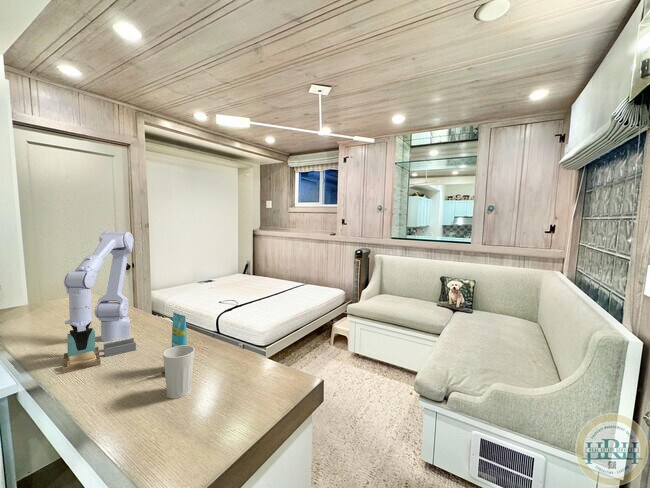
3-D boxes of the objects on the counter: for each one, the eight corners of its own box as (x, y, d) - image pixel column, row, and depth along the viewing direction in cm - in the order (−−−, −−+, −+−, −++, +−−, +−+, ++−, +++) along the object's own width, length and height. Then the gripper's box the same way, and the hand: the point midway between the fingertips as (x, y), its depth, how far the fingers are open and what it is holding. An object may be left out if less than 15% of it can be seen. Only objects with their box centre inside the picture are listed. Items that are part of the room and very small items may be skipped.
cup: (187, 381, 85) (187, 342, 85) (199, 391, 80) (199, 350, 80) (158, 392, 79) (158, 351, 79) (170, 404, 74) (170, 360, 74)
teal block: (95, 354, 98) (94, 329, 98) (95, 356, 96) (94, 331, 96) (68, 360, 94) (67, 333, 93) (67, 363, 92) (67, 336, 91)
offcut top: (92, 355, 94) (92, 350, 94) (95, 358, 92) (94, 353, 92) (68, 361, 89) (68, 356, 89) (70, 364, 87) (70, 359, 87)
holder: (133, 346, 108) (133, 337, 108) (136, 352, 103) (136, 343, 102) (103, 352, 102) (103, 343, 102) (105, 360, 97) (105, 350, 96)
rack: (98, 353, 101) (98, 345, 101) (100, 367, 92) (100, 358, 91) (64, 360, 95) (64, 352, 95) (63, 376, 86) (62, 367, 85)
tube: (165, 371, 91) (165, 313, 89) (179, 365, 95) (179, 309, 94) (179, 378, 87) (179, 317, 86) (193, 371, 91) (193, 313, 90)
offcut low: (95, 360, 94) (95, 354, 94) (96, 364, 92) (96, 358, 92) (67, 366, 90) (67, 361, 90) (67, 371, 87) (67, 365, 87)
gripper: (65, 303, 97) (66, 341, 98) (63, 314, 86) (64, 357, 87) (91, 300, 101) (92, 336, 102) (93, 310, 91) (94, 350, 91)
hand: (81, 345), depth 95 cm, fingers open, 7 cm apart
